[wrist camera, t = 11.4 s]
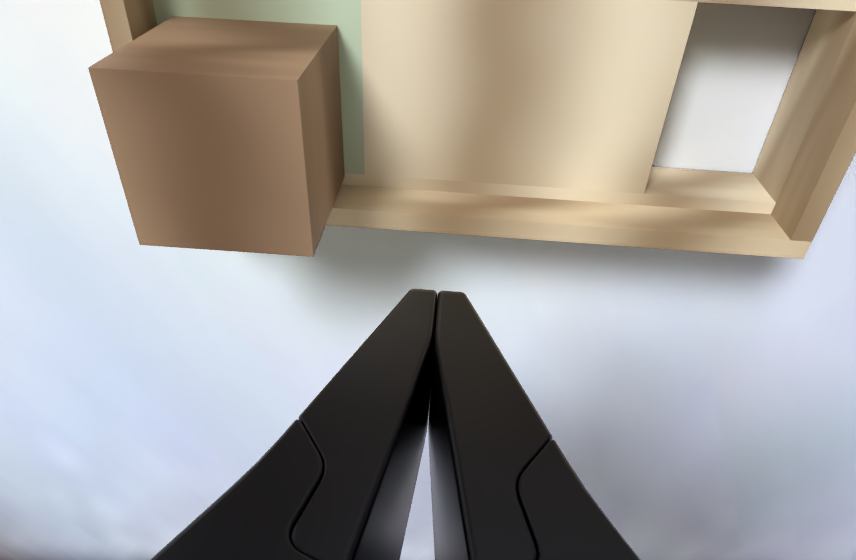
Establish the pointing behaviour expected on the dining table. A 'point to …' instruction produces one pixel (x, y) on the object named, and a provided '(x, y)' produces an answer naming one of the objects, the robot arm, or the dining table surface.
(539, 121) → the trap box
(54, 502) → the dining table surface
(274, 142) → the block
